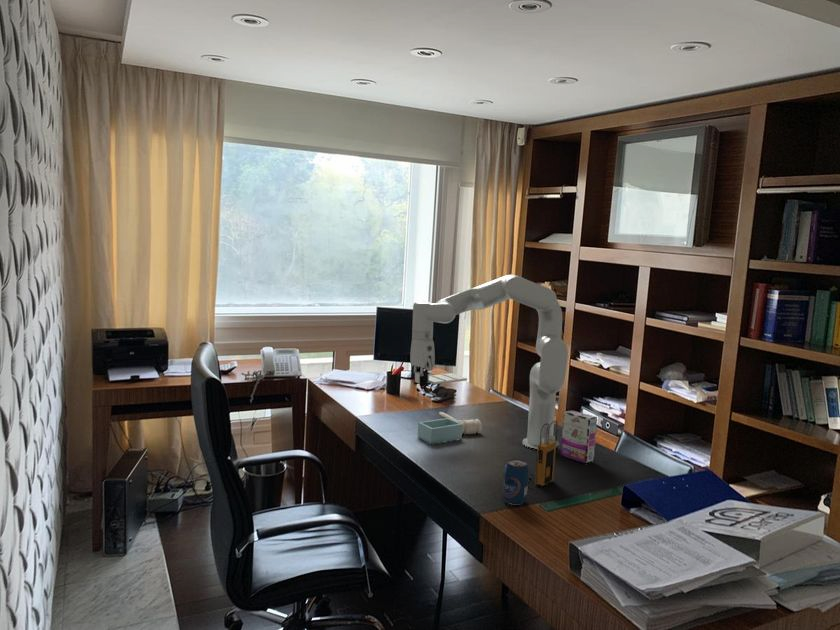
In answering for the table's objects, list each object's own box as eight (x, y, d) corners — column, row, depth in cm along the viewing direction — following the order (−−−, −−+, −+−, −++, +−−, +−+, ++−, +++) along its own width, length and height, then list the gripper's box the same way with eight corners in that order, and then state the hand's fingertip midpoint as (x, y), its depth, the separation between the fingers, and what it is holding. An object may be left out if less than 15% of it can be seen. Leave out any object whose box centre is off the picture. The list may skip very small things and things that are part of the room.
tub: (461, 439, 239) (462, 424, 238) (430, 444, 231) (431, 428, 230) (447, 432, 246) (448, 417, 245) (417, 437, 238) (418, 422, 238)
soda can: (498, 502, 183) (500, 462, 181) (508, 495, 188) (511, 456, 187) (520, 509, 179) (523, 468, 177) (530, 501, 185) (533, 461, 183)
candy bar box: (594, 462, 220) (598, 416, 218) (586, 465, 217) (589, 419, 215) (568, 453, 229) (571, 409, 227) (559, 455, 226) (563, 411, 224)
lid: (466, 380, 236) (467, 371, 235) (424, 385, 225) (424, 375, 225) (451, 375, 244) (451, 366, 243) (409, 379, 234) (410, 370, 233)
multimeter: (531, 470, 210) (535, 412, 208) (558, 478, 204) (563, 418, 201) (508, 482, 199) (512, 420, 196) (536, 491, 192) (541, 427, 190)
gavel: (428, 420, 271) (459, 437, 241) (428, 406, 271) (459, 421, 241) (450, 419, 275) (483, 435, 245) (450, 405, 275) (483, 420, 245)
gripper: (443, 338, 223) (441, 389, 226) (419, 331, 237) (417, 379, 239) (426, 339, 219) (424, 391, 222) (402, 332, 233) (400, 381, 235)
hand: (420, 384), depth 230 cm, fingers closed on lid, 3 cm apart
